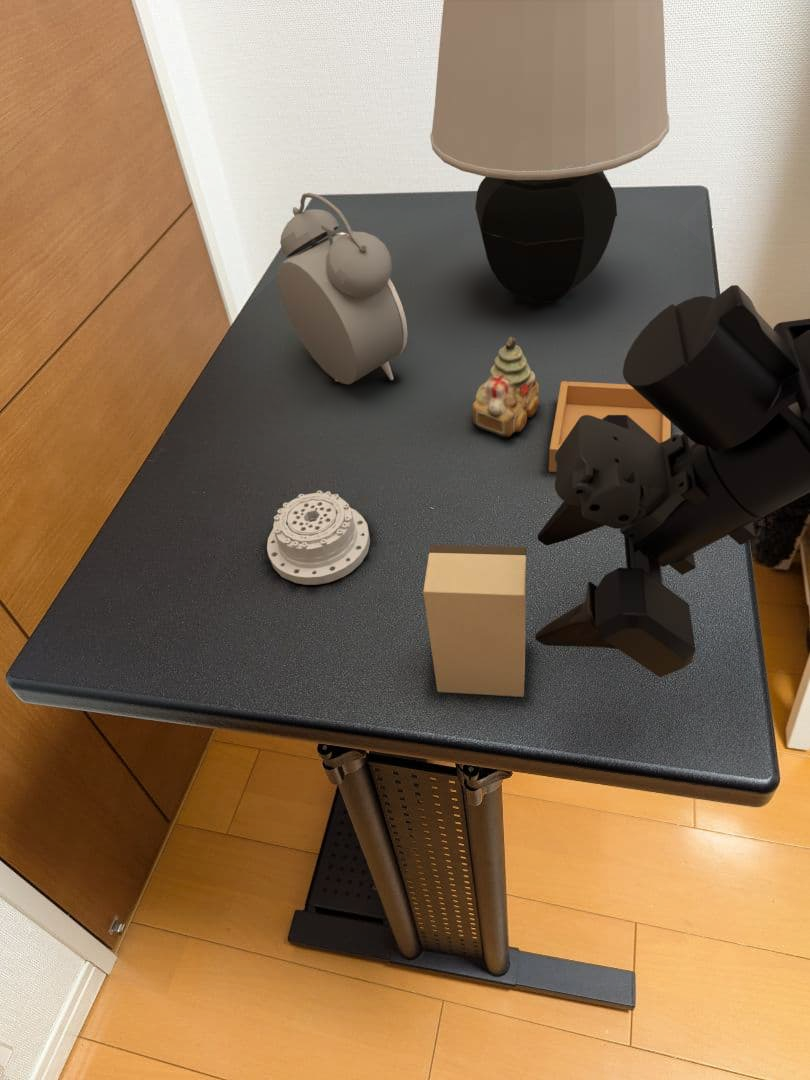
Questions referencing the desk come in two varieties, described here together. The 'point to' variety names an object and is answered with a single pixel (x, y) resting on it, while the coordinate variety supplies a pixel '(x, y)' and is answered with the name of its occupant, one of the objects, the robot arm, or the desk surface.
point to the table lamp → (548, 125)
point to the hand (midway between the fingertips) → (540, 587)
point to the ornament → (507, 393)
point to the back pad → (477, 618)
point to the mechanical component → (317, 539)
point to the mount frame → (603, 411)
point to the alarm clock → (340, 294)
